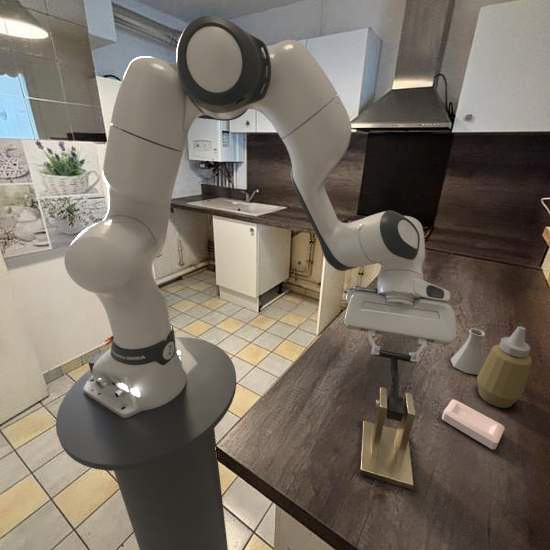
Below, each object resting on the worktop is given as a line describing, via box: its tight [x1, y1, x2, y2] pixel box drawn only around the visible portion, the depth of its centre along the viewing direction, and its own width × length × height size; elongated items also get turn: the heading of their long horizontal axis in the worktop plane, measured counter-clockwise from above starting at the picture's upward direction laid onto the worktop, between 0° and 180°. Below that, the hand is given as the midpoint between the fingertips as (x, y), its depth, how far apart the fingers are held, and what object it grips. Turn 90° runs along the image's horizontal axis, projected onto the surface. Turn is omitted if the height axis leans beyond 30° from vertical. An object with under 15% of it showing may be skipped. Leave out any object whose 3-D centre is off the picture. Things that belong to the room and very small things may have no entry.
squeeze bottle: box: [476, 325, 533, 409], centre depth 60 cm, size 8×8×18 cm
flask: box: [449, 327, 486, 376], centre depth 71 cm, size 7×7×10 cm
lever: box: [379, 349, 410, 422], centre depth 51 cm, size 13×6×2 cm, turn 162°
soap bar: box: [441, 398, 506, 450], centre depth 56 cm, size 5×9×2 cm, turn 42°
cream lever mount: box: [359, 386, 417, 490], centre depth 49 cm, size 10×8×13 cm
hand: (394, 359), depth 55 cm, fingers closed on lever, 5 cm apart
